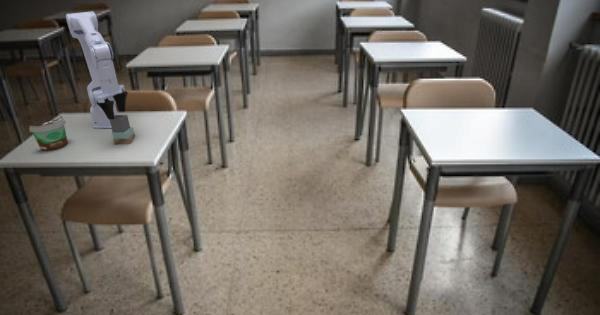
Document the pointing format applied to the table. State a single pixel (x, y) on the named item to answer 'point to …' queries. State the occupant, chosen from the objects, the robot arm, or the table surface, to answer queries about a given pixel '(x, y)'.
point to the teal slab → (123, 134)
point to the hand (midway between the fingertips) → (116, 115)
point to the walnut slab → (124, 140)
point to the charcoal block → (120, 123)
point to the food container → (50, 134)
